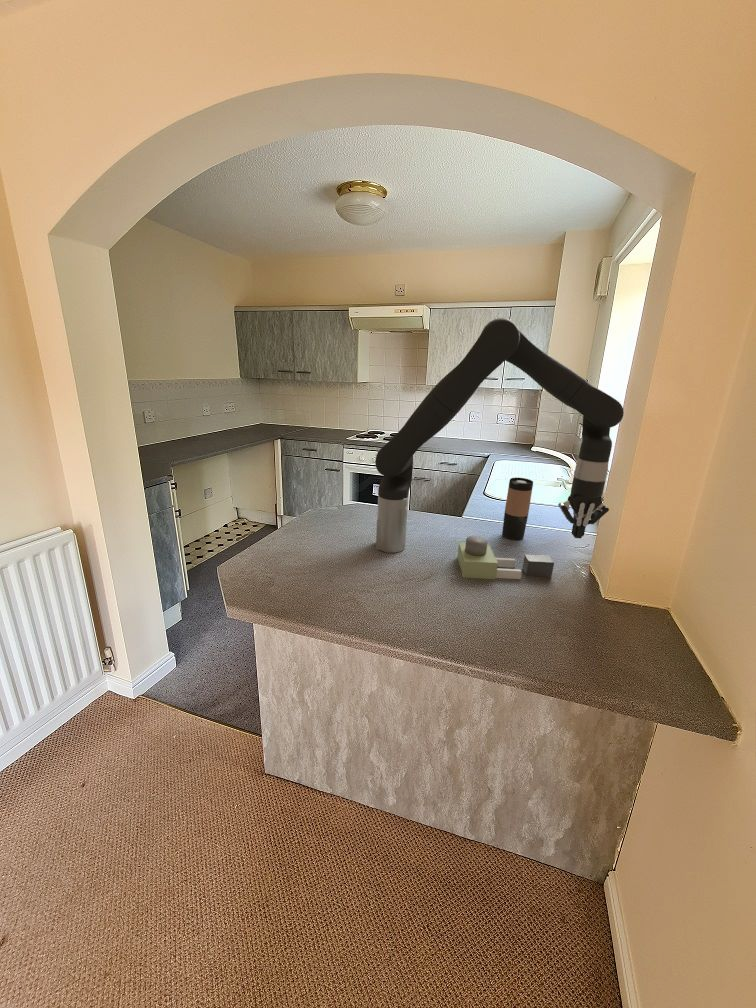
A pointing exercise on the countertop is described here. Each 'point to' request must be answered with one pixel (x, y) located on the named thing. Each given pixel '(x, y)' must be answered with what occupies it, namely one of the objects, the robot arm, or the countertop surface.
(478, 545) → the two-prong plug
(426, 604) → the countertop surface
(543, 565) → the dark grey box
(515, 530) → the travel mug
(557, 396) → the robot arm
